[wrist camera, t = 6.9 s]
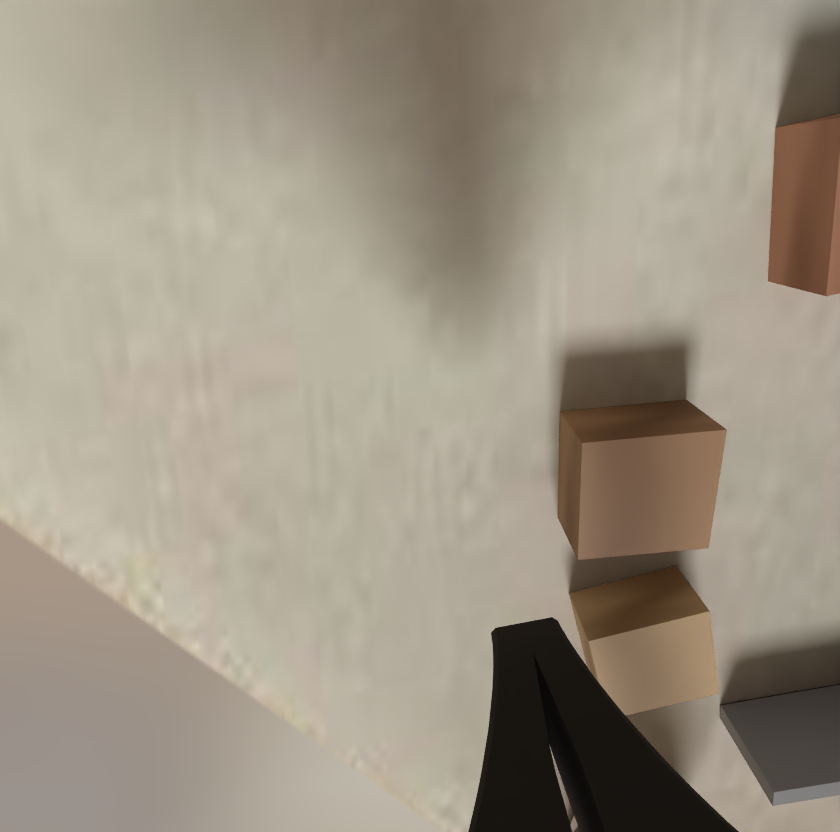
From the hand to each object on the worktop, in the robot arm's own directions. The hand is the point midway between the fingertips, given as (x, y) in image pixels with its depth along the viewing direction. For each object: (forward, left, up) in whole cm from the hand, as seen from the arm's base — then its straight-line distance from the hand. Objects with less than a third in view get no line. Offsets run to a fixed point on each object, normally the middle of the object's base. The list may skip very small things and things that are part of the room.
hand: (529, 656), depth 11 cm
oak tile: (-5, +7, -7) cm, 11 cm away
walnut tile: (-5, 0, -7) cm, 8 cm away
